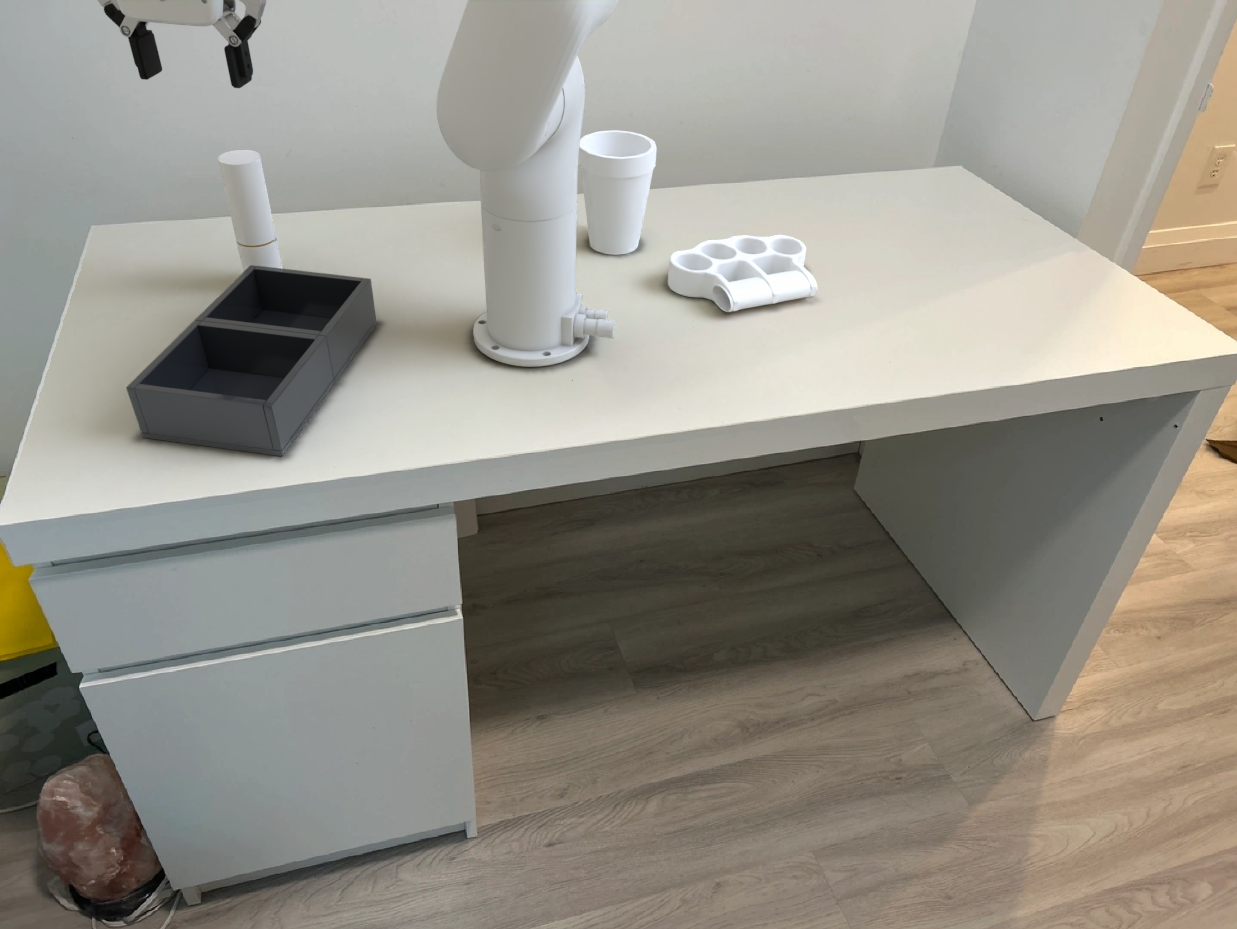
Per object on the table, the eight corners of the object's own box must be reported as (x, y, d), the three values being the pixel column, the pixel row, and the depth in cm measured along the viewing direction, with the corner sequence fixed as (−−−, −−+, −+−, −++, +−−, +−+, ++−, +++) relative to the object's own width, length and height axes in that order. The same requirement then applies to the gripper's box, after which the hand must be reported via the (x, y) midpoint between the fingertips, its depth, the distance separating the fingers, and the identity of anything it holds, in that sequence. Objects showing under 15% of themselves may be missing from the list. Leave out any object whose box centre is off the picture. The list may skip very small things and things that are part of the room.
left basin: (334, 384, 96) (326, 335, 93) (282, 456, 87) (271, 406, 84) (207, 367, 98) (194, 319, 94) (142, 437, 88) (125, 387, 85)
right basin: (377, 324, 106) (371, 278, 102) (334, 384, 96) (326, 335, 93) (260, 310, 107) (250, 264, 104) (207, 367, 98) (194, 319, 94)
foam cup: (663, 240, 125) (670, 142, 117) (625, 267, 119) (630, 164, 111) (602, 221, 129) (605, 124, 121) (563, 246, 123) (563, 146, 114)
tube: (273, 293, 110) (247, 166, 101) (239, 289, 111) (210, 161, 101) (291, 277, 113) (267, 152, 104) (257, 272, 114) (230, 147, 105)
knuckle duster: (704, 324, 108) (649, 268, 119) (838, 298, 114) (774, 246, 125) (707, 298, 106) (651, 242, 117) (843, 273, 112) (778, 222, 123)
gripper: (37, -117, 84) (95, 83, 95) (224, -103, 83) (262, 99, 94) (87, -128, 90) (136, 61, 101) (262, -115, 89) (293, 76, 99)
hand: (197, 79), depth 97 cm, fingers open, 9 cm apart
